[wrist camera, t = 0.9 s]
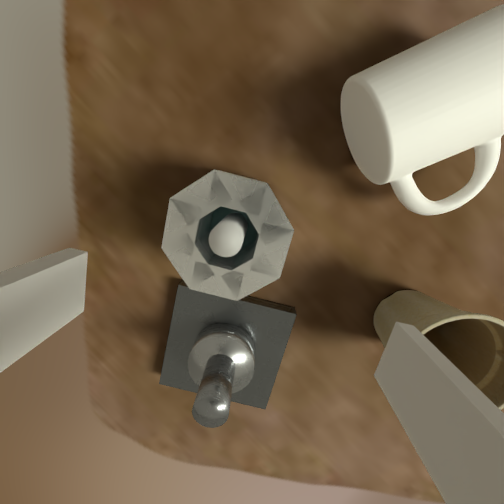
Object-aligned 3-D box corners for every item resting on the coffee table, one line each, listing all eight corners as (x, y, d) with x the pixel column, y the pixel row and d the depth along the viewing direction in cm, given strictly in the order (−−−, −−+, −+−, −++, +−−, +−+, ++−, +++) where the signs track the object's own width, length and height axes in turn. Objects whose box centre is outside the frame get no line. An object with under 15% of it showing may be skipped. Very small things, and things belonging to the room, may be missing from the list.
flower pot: (348, 286, 28) (385, 332, 19) (444, 262, 27) (528, 301, 18) (365, 363, 30) (404, 435, 21) (454, 344, 29) (532, 412, 20)
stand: (208, 178, 25) (186, 178, 18) (280, 197, 26) (287, 204, 18) (193, 248, 27) (168, 273, 20) (261, 266, 27) (261, 297, 20)
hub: (182, 279, 28) (144, 326, 19) (294, 307, 28) (309, 366, 19) (164, 374, 31) (123, 453, 22) (265, 398, 31) (265, 486, 22)
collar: (197, 164, 24) (176, 159, 18) (295, 189, 24) (305, 193, 19) (179, 258, 26) (155, 280, 21) (268, 281, 27) (270, 309, 21)
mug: (331, 96, 23) (364, 56, 16) (449, 40, 22) (551, -35, 14) (373, 224, 26) (419, 243, 18) (481, 181, 25) (580, 183, 17)
